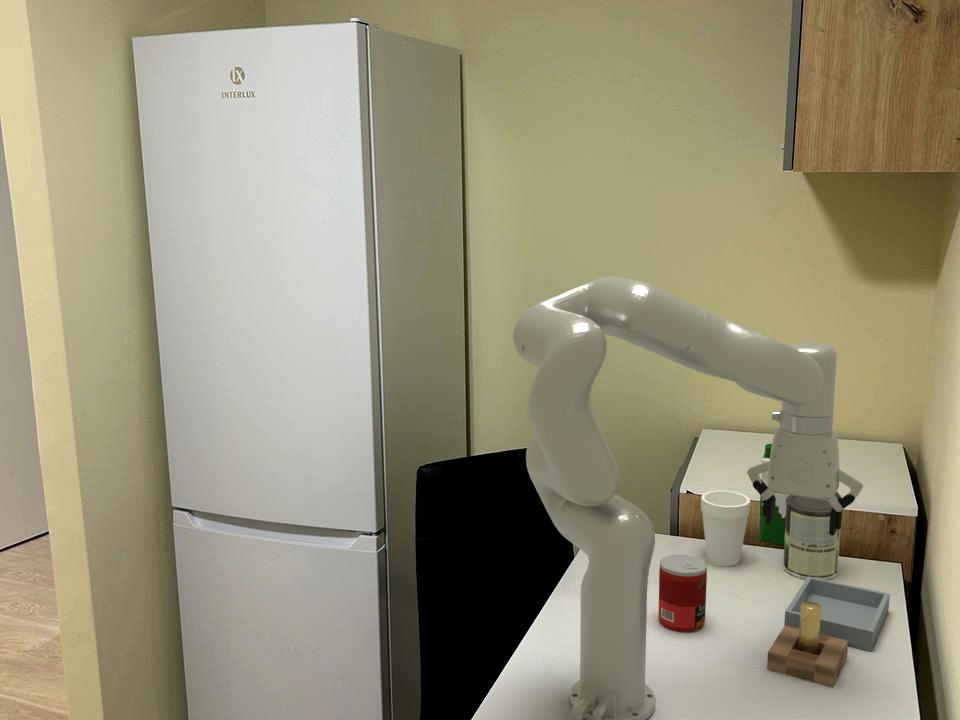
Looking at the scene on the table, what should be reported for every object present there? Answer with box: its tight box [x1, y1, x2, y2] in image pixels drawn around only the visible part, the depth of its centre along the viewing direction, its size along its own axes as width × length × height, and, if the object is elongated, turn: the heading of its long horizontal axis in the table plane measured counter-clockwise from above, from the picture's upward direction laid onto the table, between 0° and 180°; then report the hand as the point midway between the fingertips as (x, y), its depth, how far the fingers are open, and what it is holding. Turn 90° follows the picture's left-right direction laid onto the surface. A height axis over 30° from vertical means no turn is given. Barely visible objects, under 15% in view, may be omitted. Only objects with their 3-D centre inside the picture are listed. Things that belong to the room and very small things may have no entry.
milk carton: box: [759, 443, 790, 545], centre depth 196 cm, size 9×9×20 cm
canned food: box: [658, 554, 708, 633], centre depth 161 cm, size 8×8×11 cm
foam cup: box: [700, 490, 751, 567], centre depth 186 cm, size 10×9×13 cm
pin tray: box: [783, 576, 891, 653], centre depth 162 cm, size 16×14×4 cm
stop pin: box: [798, 601, 821, 655], centre depth 148 cm, size 3×3×10 cm
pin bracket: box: [766, 626, 849, 688], centre depth 148 cm, size 10×10×3 cm
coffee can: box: [782, 495, 841, 581], centre depth 181 cm, size 10×10×14 cm
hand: (801, 527), depth 148 cm, fingers open, 9 cm apart
